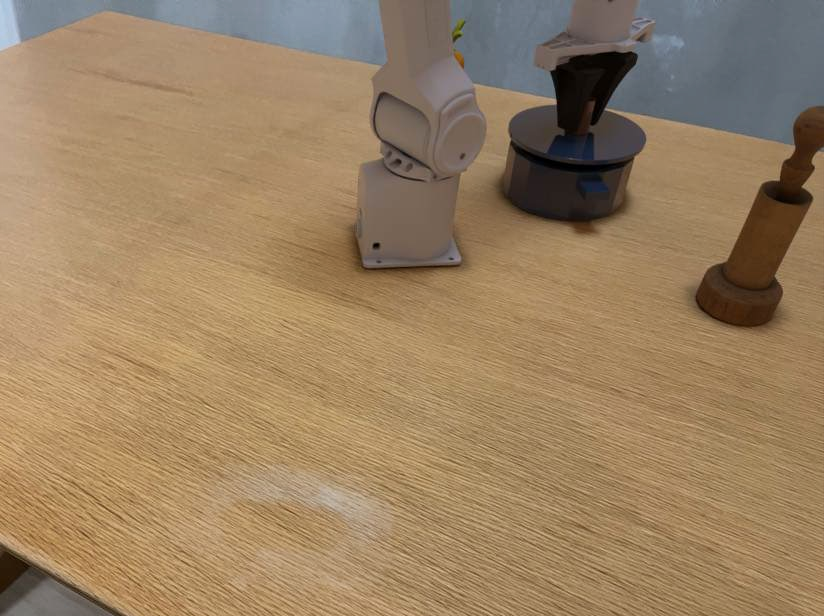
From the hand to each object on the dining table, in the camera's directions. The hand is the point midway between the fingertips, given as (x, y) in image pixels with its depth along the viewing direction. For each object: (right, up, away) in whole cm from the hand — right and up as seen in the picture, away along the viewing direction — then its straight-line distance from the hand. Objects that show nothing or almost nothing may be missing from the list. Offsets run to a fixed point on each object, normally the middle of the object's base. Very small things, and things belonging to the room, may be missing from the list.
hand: (576, 125), depth 85 cm
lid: (0, -1, +1) cm, 1 cm away
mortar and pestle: (+10, -20, -11) cm, 25 cm away
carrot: (-13, +2, +14) cm, 19 cm away
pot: (0, -6, +5) cm, 8 cm away
